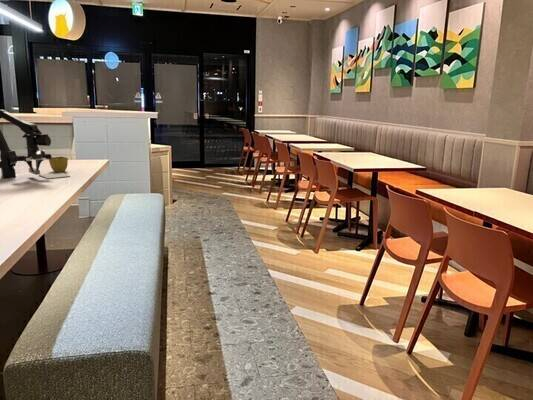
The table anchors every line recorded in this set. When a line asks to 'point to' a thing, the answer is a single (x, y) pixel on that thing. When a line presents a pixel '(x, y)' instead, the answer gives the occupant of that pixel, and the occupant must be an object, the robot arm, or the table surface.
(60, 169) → the flower pot
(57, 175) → the slate board
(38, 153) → the robot arm
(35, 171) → the block
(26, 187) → the table surface
